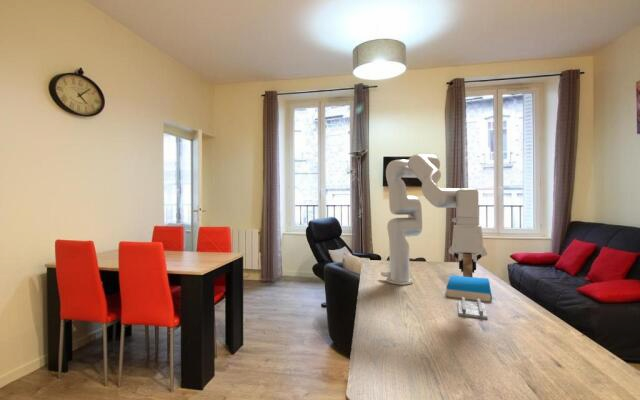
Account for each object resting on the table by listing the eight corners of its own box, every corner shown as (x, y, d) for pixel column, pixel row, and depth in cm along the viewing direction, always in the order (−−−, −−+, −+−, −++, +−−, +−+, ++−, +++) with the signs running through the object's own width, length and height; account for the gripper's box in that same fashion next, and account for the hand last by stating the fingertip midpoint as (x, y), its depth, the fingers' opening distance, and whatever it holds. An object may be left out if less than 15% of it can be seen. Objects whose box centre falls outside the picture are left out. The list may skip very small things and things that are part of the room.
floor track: (487, 319, 108) (487, 312, 108) (458, 315, 112) (458, 308, 112) (483, 305, 122) (483, 299, 122) (458, 302, 126) (458, 296, 126)
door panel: (463, 276, 114) (463, 254, 114) (462, 271, 122) (462, 250, 122) (472, 277, 113) (472, 254, 113) (471, 272, 120) (471, 251, 120)
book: (446, 288, 134) (449, 274, 156) (446, 298, 134) (450, 283, 157) (492, 292, 127) (489, 277, 149) (492, 303, 127) (489, 286, 149)
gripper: (443, 222, 117) (443, 271, 117) (493, 223, 111) (493, 275, 111) (443, 220, 124) (444, 267, 124) (491, 221, 117) (491, 271, 117)
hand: (467, 271), depth 117 cm, fingers closed on door panel, 3 cm apart
